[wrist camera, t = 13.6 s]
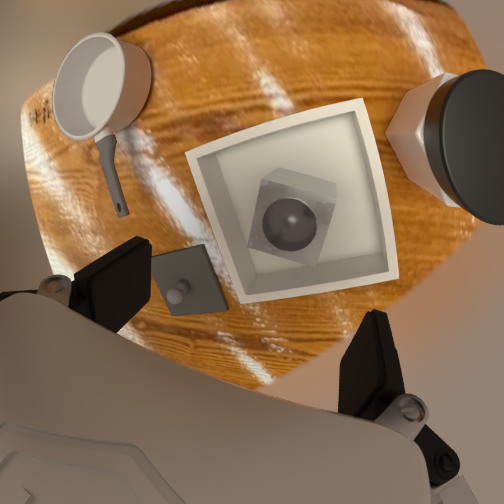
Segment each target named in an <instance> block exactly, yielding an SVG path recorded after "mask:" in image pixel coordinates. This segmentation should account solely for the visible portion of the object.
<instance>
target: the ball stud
mask: <svg viewBox="0 0 504 504" xmlns="http://www.w3.org/2000/svg"><path fill="white" fill-rule="evenodd" d="M151 273H152V275H153V277H154V279H155V281H156V283H157V286H158V288H159V290H160V292H161V294H162V296H163V298H164V300H165V302H166V304H167V306H168V308H169V310H170V312H171V314H172V316H179V315H191V314H202V313H213V312H223V311H228V309H229V306H228V303H227V301H226V299H225V296H224V294H223V291H222V289H221V286H220V284H219V281H218V279H217V277H216V274H215V272H214V269H213V266H212V264H211V261H210V259H209V256H208V254H207V251H206V249H205V246H204V244H202V245H197V246H193V247H189V248H185V249H181V250H177V251H173V252H169V253H164V254H160V255H156V256H152V257H151Z"/></svg>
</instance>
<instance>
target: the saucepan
mask: <svg viewBox="0 0 504 504" xmlns="http://www.w3.org/2000/svg"><path fill="white" fill-rule="evenodd" d="M150 84H151V67H150V62H149V60H148V57H147V55H146V54H145V52H144V51H143V50H142V49H141V48H140V47H138V46H137V45H134V44H131V43H128V42H124V41H121V40H117V39H116V38H115V37H113V36H112V35H110V34H108V33H104V32H97V33H93V34H90V35H88V36H86V37H84V38H82V39H81V40H80V41H79V42H77V43H76V44H75V45H74V46H73V47H72V48H71V49H70V51H69V52H68V53H67V55H66V56H65V58H64V59H63V61H62V63H61V65H60V67H59V69H58V72H57V75H56V77H55V81H54V85H53V92H52V108H53V115H54V118H55V122H56V124H57V126H58V128H59V129H60V131H61V132H62V133H63V134H64V135H65V136H66V137H68V138H69V139H72V140H76V141H82V140H85V139H89V138H90V137H92V136H94V139H95V144H96V147H97V149H98V150H99V152H100V161H101V165H102V169H103V172H104V176H105V179H106V182H107V185H108V188H109V191H110V194H111V197H112V200H113V203H114V206H115V209H116V212H117V215H118V218H121V217H124V216H126V215H129V214H130V213H129V210H128V207H127V204H126V201H125V198H124V195H123V192H122V189H121V185H120V182H119V179H118V175H117V172H116V168H115V165H114V155H115V149H116V143H117V141H116V137H115V134H113V132H117V131H119V130H121V129H123V128H125V127H126V126H128V125H129V124H130V123H131V122H132V121H133V120H134V119H135V118H136V117H137V116H138V114H139V113H140V111H141V110H142V108H143V106H144V104H145V102H146V100H147V96H148V93H149V90H150Z"/></svg>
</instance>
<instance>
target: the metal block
mask: <svg viewBox="0 0 504 504" xmlns="http://www.w3.org/2000/svg"><path fill="white" fill-rule="evenodd" d="M336 202H337V194H336V183H334V182H331V181H327V180H324V179H320V178H317V177H313V176H310V175H306V174H303V173H299V172H295V171H291V170H288V169H284V168H280V167H279V168H277V169H275V170H274V171H272V172H271V173H269V174H268V175H266V176H265V177H263V178H262V179H261V183H260V187H259V192H258V197H257V202H256V206H255V211H254V216H253V221H252V226H251V231H250V235H249V240H248V245H247V247H248V248H251V249H255V250H258V251H261V252H265V253H268V254H271V255H275V256H278V257H281V258H284V259H288V260H291V261H294V262H298V263H301V264H304V265H308V266H311V267H314V268H316V265H317V262H318V259H319V256H320V253H321V250H322V247H323V244H324V241H325V237H326V234H327V231H328V228H329V225H330V222H331V218H332V215H333V212H334V208H335V205H336Z"/></svg>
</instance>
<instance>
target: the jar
mask: <svg viewBox="0 0 504 504" xmlns="http://www.w3.org/2000/svg"><path fill="white" fill-rule="evenodd" d="M385 135H386V137H387V139H388V141H389V143H390V144H391V146H392V148H393V150H394V152H395V154H396V156H397V158H398V160H399V162H400V164H401V166H402V168H403V170H404V172H405V174H406V176H407V178H408V179H409V180H410V181H412V182H413V183H415V184H416V185H418V186H419V187H421V188H422V189H424V190H425V191H427V192H428V193H430V194H431V195H433V196H434V197H435V198H437V199H438V200H440V201H441V202H443V203H444V204H445V205H447V206H451V207H461V208H463V209H465V210H466V211H468V212H469V213H470V214H472V215H473V216H475V217H476V218H478V219H479V220H481V221H483V222H486V223H489V224H493V225H504V75H503V74H501V73H498V72H496V71H492V70H486V69H479V70H473V71H470V72H467V73H464V74H462V75H456V74H451V73H443V74H441V75H439V76H437V77H435V78H433V79H431V80H429V81H427V82H425V83H423V84H421V85H419V86H417V87H416V88H414V89H412V90H410V91H408V92H406V94H405V96H404V97H403V99H402V101H401V103H400V105H399V107H398V109H397V111H396V113H395V114H394V116H393V118H392V120H391V122H390V124H389V126H388V127H387V129H386V131H385Z"/></svg>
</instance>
